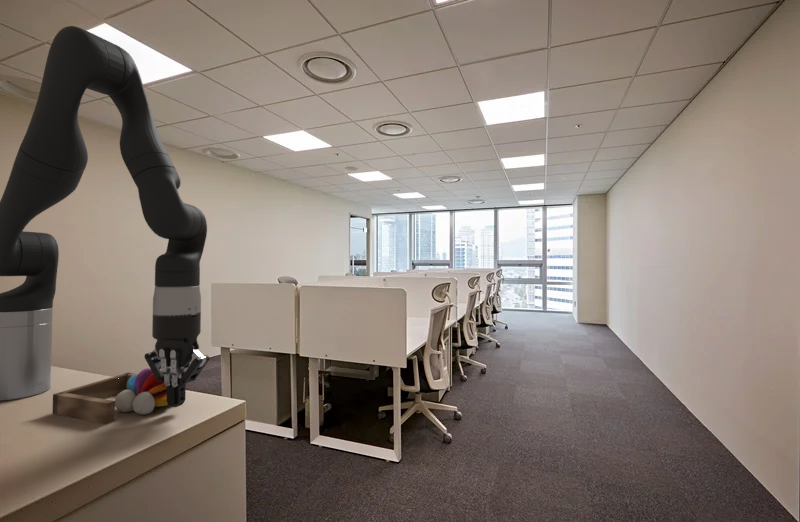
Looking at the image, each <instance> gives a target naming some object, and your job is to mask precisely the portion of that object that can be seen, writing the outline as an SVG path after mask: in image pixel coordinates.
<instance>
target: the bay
mask: <svg viewBox="0 0 800 522" xmlns="http://www.w3.org/2000/svg"><path fill="white" fill-rule="evenodd" d="M138 374H139V373H133V372H126V373H122V374H119V375H115V376H113V377H109V378H104V379H101V380H98V381H95V382H90V383H87V384H84V385H81V386H77V387H74V388H70V389H67V390H63V391H60V392H57V393H53V394H52V413H51V414H52V415H56V416H61V417H67V418H73V419H77V420H83V421H88V422H93V423H94V422H95V423H99V424H100V423H101V424H104V425H109V424H111V423H113V422H115V420H116V418H115V417H116V416H115V415H116V407H115V400H113V399H111V400H110V399H107V398H111V397H114V396H117V395H118V394H119V393H120V392H122V391H123V390H127V381H128V379H129V378H130V377H131V376H133V375H138ZM118 378H119V379H118ZM116 394H117V395H116ZM113 395H114V396H113Z"/></svg>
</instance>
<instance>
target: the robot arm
mask: <svg viewBox="0 0 800 522" xmlns="http://www.w3.org/2000/svg"><path fill="white" fill-rule="evenodd" d="M44 65H45V67H44V71H43V76H42V78H41V79H42V80H41V85H40V88H39V89H40V90H39V92H38V93H39V94H38V95H37V100H36V104H35V107H34V109H33V113H32V115H31V119H30V122H29V124H28V127H27V130H26V132H25V135H24V137H23V139H22V141H21V143H20V146H19V148H18V151H17V154H16V156H15V159H14V162H13V164H12V168H11V171H10V174H9V178H8V180H7V183H6V186H5V189H4V191H3V194H2V196H1V199H0V277H25V280H24V282H23V283H21V284H20V285H19V286H17V287H14V288H13V289H10V290H7V291H3V292H0V401H10V400H16V399H22V398H28V397H32V396H35V395H38V394H41V393H44V392H47V391H48V390H50V389H51V379H52V376H51V375H52V374H51V373H52V350H53V349H52V348H53V347H52V343H53V312H54V311H53V309H54V308H53V307H54V298H55V295H56V292H57V291H56V288H57V275H58V266H59V255H60V254H59V253H60V252H59V244H58V243H57V240H56V238H55V236H53V235H52V234H50V233H48V232H34V231H24V229H25V228H26V226H27V225H28V224H29V223H30V222H31V221H32V220H34V218H36V217H37V216H38V215H40V214H42V213H43V212H45V211H47V210H48V209H50V208H52V207H54V206H55V205H57V204H59V203H60V202H62V201H63V200H65V199H67V197H69V196H70V195H71V194H72V193H73V192H75V191H76V190H77V188H78V186H79V183H80V182H81V179H82V176H83V174H84V171H86V170H85V169H86V168H87V164H88V160H89V157H88V156H89V154H88V149H87V146H86V142H85V139H84V137H83V133H82V131H81V128H80V125H79V120H78V119H79V118H78V117H79V108H80V105H81V102H82V98H83V96H84V94H85V92H86V90H87V89H88V90H91V91H93V92H95V93H100V94H102V95H107V96H108V97H109V98H110V99H111V101H112V102H113V103H114V105H115V107H116V109H117V110H118V112H119V114H120V117H121V121H122V123H121V131H120V138H119V150H120V154H121V158H122V160H123V163H124V164H125V167H126V168H127V170H128V172H129V174H130V176H131V178H132V180H133V182H134V184H135V186H136V187H137V191H138V199H139V202H140V207H141V211H142V214H143V215H142V216H143V218H144V220H145V223H146V224H147V227H148V228H150V230H151V232H153V233H154V234H155V235H157V236H158V237H160V238H162V239H165V240H168V242H167V247H166V251H165V253H163V254H161V255H159V256H158V257H157V258H156V260H155V265H154V291H153V297H152V322H151V323H152V327H151V328H152V331H151V332H152V333H151V334H152V338H153V339H155V340H156V342H155V345H154V349H153V350H152V351H151V352H148V353H144V359H145V361H146V362H147V365H148V368H151V370H152V372H153V374H154V376H155V377H156V379H157V381H158V382H161V381H162V382H164V384H165V386H167V403H168V405H167V407H170V408H178V407H179V406H182V405H183V404H185V402H186V388H187V387H186V386H187V384H188V383H191V382H194V381H196V380H197V378H198V377H199V375H200V374H201V372H202V371H203V369H204V368H205V367H206V365H207V364H208V363H209V361H210V356H209V355H208V354H205V355H203V354H202V353H201V352H200V350H199V349H200V345H199V342H198V337H199V335H200V334H201V331H202V330H201V319H202V316H201V315H202V313H201V312H202V311H201V310H202V296H201V294H202V293H201V289H200V287H201V286H200V285H201V283H200V282H201V281H200V279H201V278H200V277H201V274H200V273H201V265H200V263H201V259H202V256H203V252H204V248H205V244H206V240H207V235H208V224H207V223H208V222H207V219H206V216H205V214H204V213H203V211H202V210H201V209H199V208H198V207H196V206H195V205H191V204H189V203H186V202H184V201H183V200H182V198H181V196H180V194H179V191H178V190H179V188H180V186H181V183H182V182H181V178H180V175H179V173H178V171H177V169H176V167H175V165H174V163H173V161H172V159H171V157H170V154H169V153H168V151H167V149H166V147H165V145H164V143H163V141H162V138H161V136H160V135H159V131H158V129H157V126H156V122H155V120H154V116H153V113H152V109H151V106H150V103H149V100H148V97H147V93H146V91H145V90H146V89H145V87H144V83H143V82H142V81H143V80H142V78H141V73H140V72H139V69H138V66H137V64H136V63H135V60H134V59H133V57H132V56H131V54H130V53H129V52H128V51H126V50H125V48H122V47H121V46H120V45H117V44H116V43H113V42H111V41H110V40H106V39H105V38H103V37H101V36H98V35H96V34H95V33H92V32H90V31H88V30H86V29H84V28H81V27H79V26H75V25H74V26H73V25H70V26H64V27H63V28H61V29H60V30H58V32H57V33H56V35H54V38H53V40H52V42H51V45H50V46H49V50H48V54H47V58H46V63H45V64H44ZM162 373H163V374H162Z"/></svg>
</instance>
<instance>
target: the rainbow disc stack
mask: <svg viewBox="0 0 800 522" xmlns="http://www.w3.org/2000/svg"><path fill="white" fill-rule="evenodd" d="M137 374H138V375H133V376H131V377H130V378H129V379H128V381H127V390H123V391H122V392H120V393H119V394H117V395H116V396H115V399H114V401H115V409H117V411H119V412H121V413H129V412H131V411H134V412H135V413H136V414H137V415H142V416H143V415H145V416H146V415H149V414H151V413H152V412H153V411H154V408H155V407H165V406H168V403H167V386H165V384H164V382H162V381H161V382H158V381H157V379H156V377H155V376H154V374H153V372H152V370H151V368H150V367H148V368H144V369H142V370H141V371H140V372H139V373H137ZM162 374H163V373H162Z"/></svg>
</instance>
